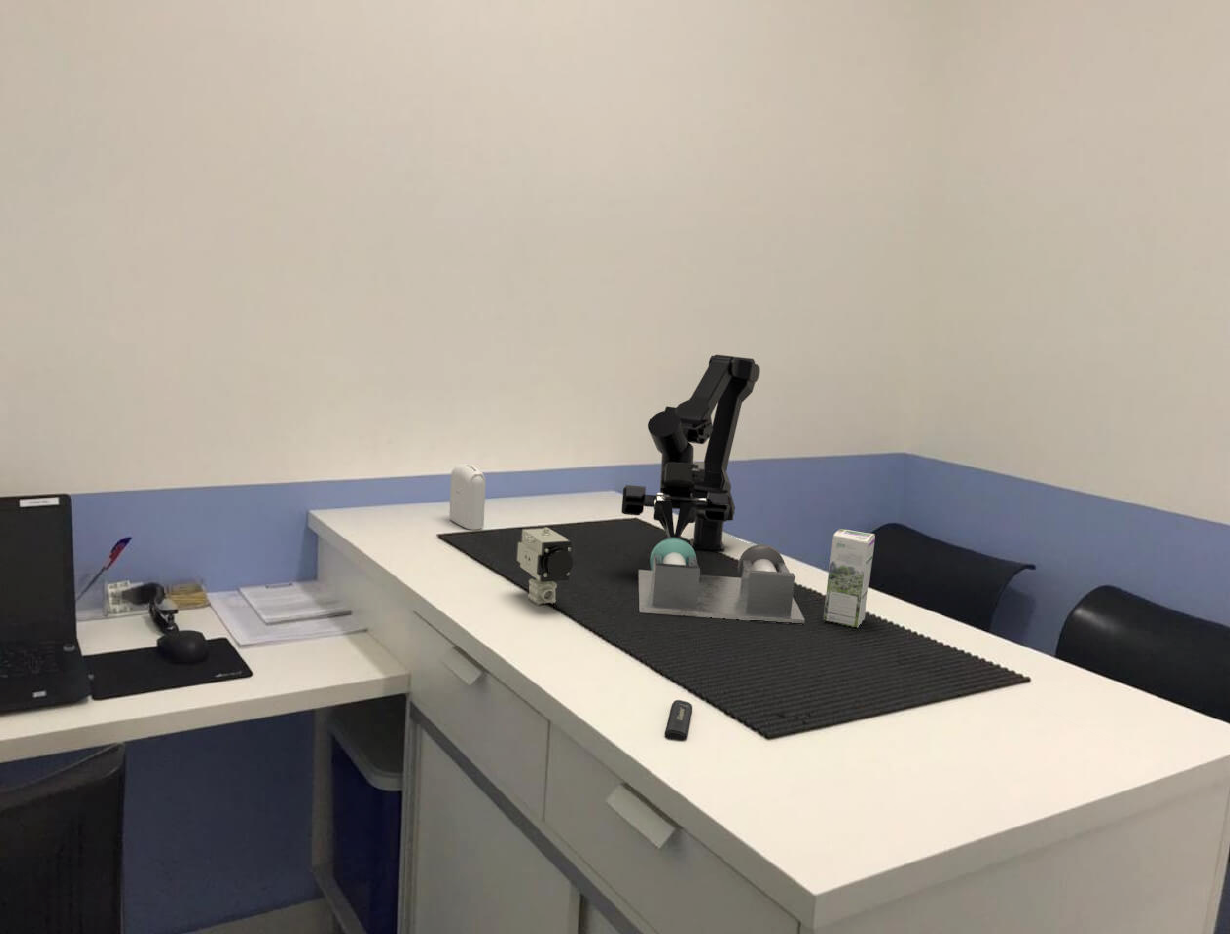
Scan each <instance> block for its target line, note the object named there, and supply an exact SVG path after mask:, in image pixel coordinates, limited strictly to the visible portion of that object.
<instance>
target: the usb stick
mask: <svg viewBox="0 0 1230 934" xmlns="http://www.w3.org/2000/svg"><path fill="white" fill-rule="evenodd" d="M692 711H693V705H692V704H691V703H690V702H688V701H686V700H681V699H676V700H674V701H673V702H672V703H671V706H670V710H669V715H668V719H667V722H666V727H665V729H664V737H665V738H666V739H668V740H675V741H681V742H683V741H686V739H687V738H688V734H689V727H690V723H691V716H692Z"/></svg>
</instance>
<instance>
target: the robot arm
mask: <svg viewBox="0 0 1230 934" xmlns="http://www.w3.org/2000/svg"><path fill="white" fill-rule="evenodd" d="M760 370H761V369H760V365H759V364H757V363H756V361H755V359H754V358H751V357H740V356H734V355H724V354H714V355H712V356H711V357H710V358H709V360H708V367H707V368H706V370H705V372H704V374H703V375H702V377H701V379H700V381H699V383H698V384H697V386H696V388H695V389H694V391H693V392H692V394H691V397H690V398H689V399H688V400H685V401H683V402H681V403H679V404H678V405H676V406H677V407H675V406H666V407H665V409H664V410H663V411H659V412H658V413H656V414H654V415H653V416H652V417H651V418H650V419H649V421H648V424H647V429H648V431H649V433H650V436H651V439H652V441H653V443H654V446H655V448H656V451H658V452H659V453H660V454H661V461H660V462H661V463H660V480H659V482H660V484H659V492H656V493H655V494H646V493H647V491H646V490H647V486H644V485H643V486H641V485H632V484H631V485H630V484H629V485H628V484H626V485H625V486H624V487H622V488H623V489H622V500H621V513H622V514H623V515H627V516H628V515H629V516H640V515H641V514H643V513H644V508H645V507H647V508H653V520H654V521H658V522H659V523H660V525H661V527H662V528H663V530H664V532H665V534H666V537H667V539H668V538H679V539H681V537H682V534H683V532H684V530H685V529H686V528H687V526H688V525H690V524H694V527H693V538H690V539H689V542H690V543H689V544H690V545H691V546H692V548H693V549H695V550H696V549H697V550H710V551H711V550H712V551H725V546H724V544H723V543H724V542H723V541H722V540H723V531H724V522H727V521H729V522H730V521H734V515H735V510H736V506H735V503H734V500H733V497H732V494H731V489H732V488H731V487H732V484H731V482H730V478H729V476H728V473H727V469H728V466H729V465H728V464H729V460H730V455H731V452H732V451H731V450H732V448H733V443H734V439H735V434H736V430H737V426H738V421H739V417H740V413H741V408H742V404H743V402H744V401H745V400H747V398H748V397H749V396H750V395H751V394H752V393H753V391H754V389H755V385H756V382H758V380H759V377H760V372H761V371H760ZM715 409H716V410H715ZM714 410H715V414H714V417H713V420H712V414H713V412H714ZM707 440H708V443H707V447H706V451H705V455H704V461H694V447H693V445H692V444H698V445H704V444H705V443H706V442H707ZM691 443H692V444H691ZM673 509H676V510H679V511H678V515H677V521H676V526H674V525H675V524H674V516H673V515H674V514H673Z"/></svg>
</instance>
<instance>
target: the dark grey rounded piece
mask: <svg viewBox="0 0 1230 934" xmlns="http://www.w3.org/2000/svg"><path fill="white" fill-rule="evenodd" d="M743 560H747V561H751V563H752V566H753V568H754V570H755V571H767V572H777V565H778V563H785V564H786V562H785V560H784V558H783V557H782V554H781V553H780V552H779V551H778V550H777V549H776V548H774V547H773V546H772V545H768V544H765V543H764V544H763V543H762V544H755V545H752V546H750V547H748V548H747V549H745V550H744V551H743V553H742V554H741V555H740V557H739V559H738V562H737V563H738V564H737V568H738V569H737V570H738V571H737V572H738V574H739V578H741V577H742V567H743Z"/></svg>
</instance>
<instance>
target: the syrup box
mask: <svg viewBox="0 0 1230 934" xmlns="http://www.w3.org/2000/svg"><path fill="white" fill-rule="evenodd" d="M875 538H876V537H875V534H874V533H867V532H861V531H856V530H849V529H843V528H839V529H838V530H837V531H835V533H834V534H833V535H832V540H831V549H830V550H831V551H830V558H829V568H828V577H827V586H826V595H825V603H824V610H823V611H824V612H823V620H826V621H830V622H833V623H832V624H835V623H838V624H837V625H839V624H841V625H840V626H844V625H846V626H845V627H849V626H851V627H850V628H854V627H857V628H856V629H858V628H859V627H860V626H861V625H862V624H863V622H864V621H865V618H866V612H867V611H866V610H867V601H868V592H869V585H870V584H869V583H870V577H871V571H872V564H873V563H872V562H873V557H874V556H873V554H874V546H875ZM863 620H864V621H863ZM862 621H863V622H862ZM830 622H829V623H830ZM860 624H861V625H860ZM859 625H860V626H859Z"/></svg>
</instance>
